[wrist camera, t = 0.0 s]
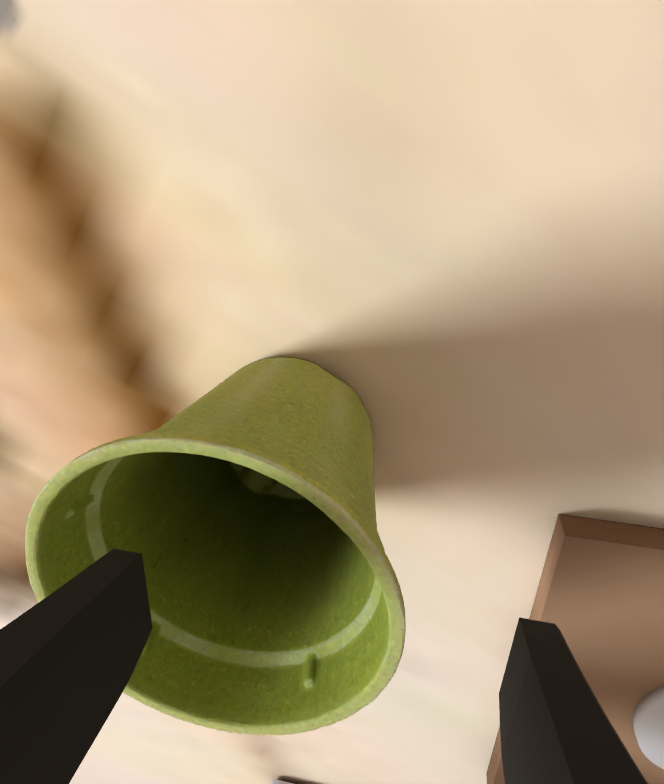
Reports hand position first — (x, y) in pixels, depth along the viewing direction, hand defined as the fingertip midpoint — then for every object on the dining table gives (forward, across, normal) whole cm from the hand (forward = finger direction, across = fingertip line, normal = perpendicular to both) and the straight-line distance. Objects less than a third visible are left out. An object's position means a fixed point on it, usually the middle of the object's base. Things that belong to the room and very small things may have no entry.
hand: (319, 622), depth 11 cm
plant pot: (+10, +3, +2) cm, 11 cm away
